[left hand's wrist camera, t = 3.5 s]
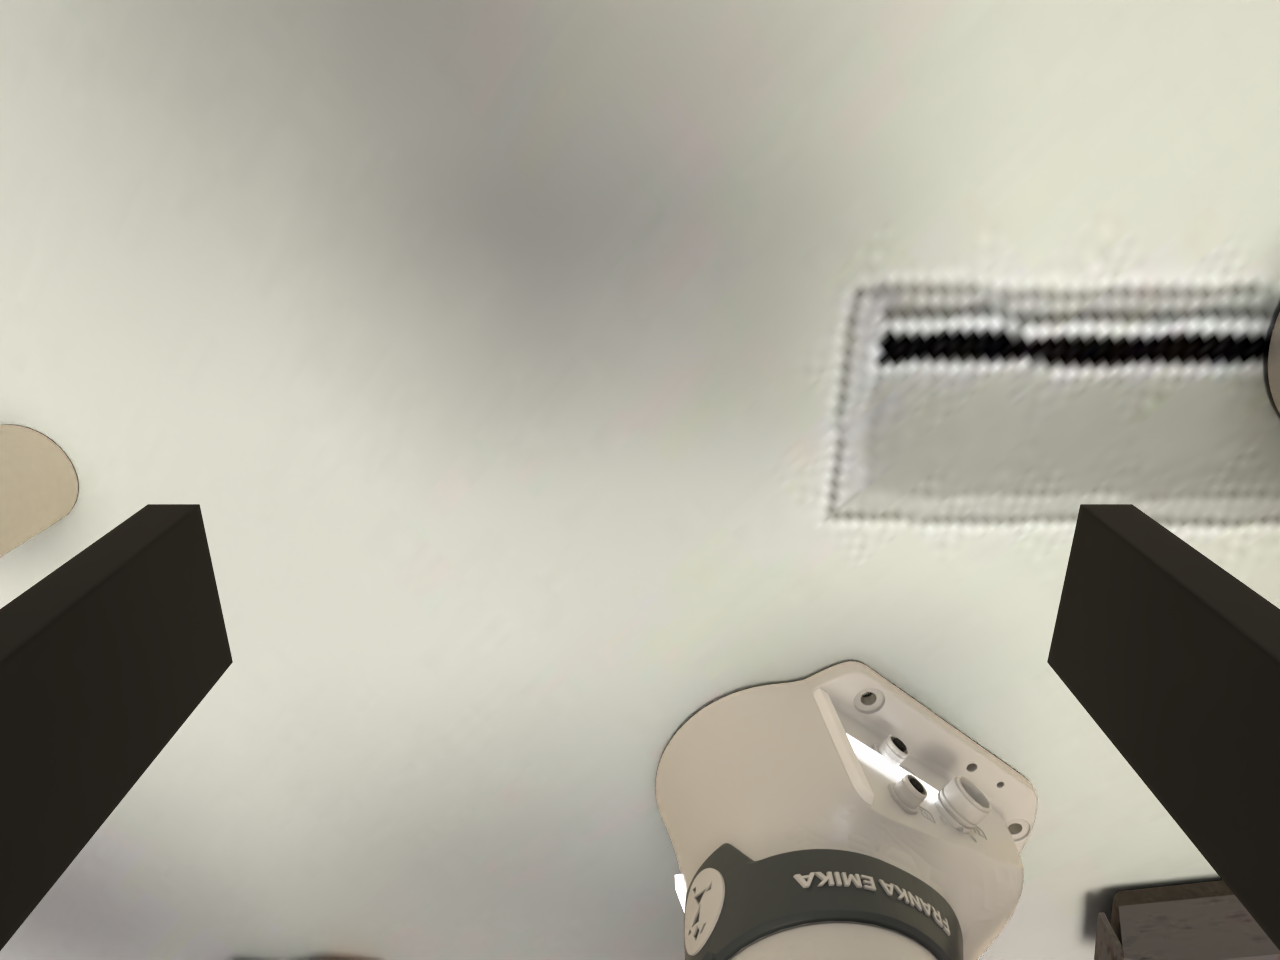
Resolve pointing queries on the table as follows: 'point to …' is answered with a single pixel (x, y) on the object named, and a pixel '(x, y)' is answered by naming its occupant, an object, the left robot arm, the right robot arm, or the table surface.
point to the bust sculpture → (1275, 364)
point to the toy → (1181, 926)
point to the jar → (32, 485)
